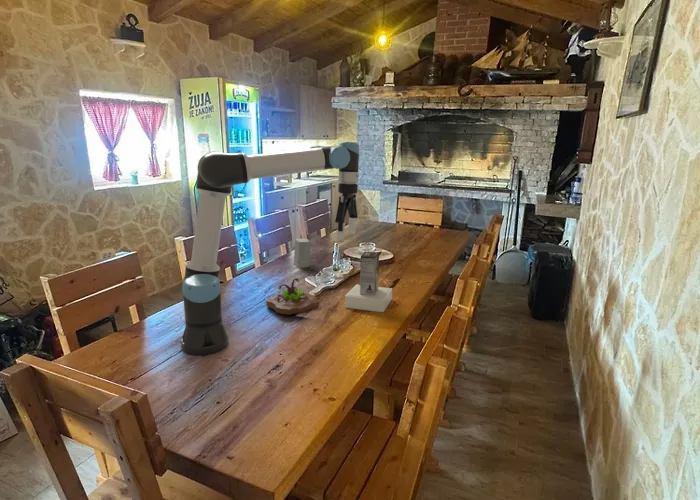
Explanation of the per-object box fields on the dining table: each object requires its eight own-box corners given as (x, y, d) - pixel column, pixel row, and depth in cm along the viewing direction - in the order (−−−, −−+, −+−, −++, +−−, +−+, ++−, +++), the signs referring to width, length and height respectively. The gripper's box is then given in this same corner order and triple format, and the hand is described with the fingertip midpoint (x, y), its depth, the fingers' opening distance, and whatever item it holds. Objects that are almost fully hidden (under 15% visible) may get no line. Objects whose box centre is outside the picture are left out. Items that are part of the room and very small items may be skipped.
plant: (326, 307, 172) (326, 281, 169) (283, 317, 161) (282, 289, 158) (302, 293, 188) (301, 269, 185) (261, 302, 176) (260, 276, 174)
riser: (383, 312, 167) (383, 299, 165) (344, 307, 171) (345, 295, 170) (391, 299, 181) (392, 287, 180) (356, 295, 186) (356, 283, 185)
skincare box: (293, 267, 230) (293, 238, 226) (305, 265, 233) (305, 237, 229) (298, 271, 222) (298, 241, 219) (311, 269, 225) (311, 240, 222)
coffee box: (363, 287, 180) (364, 251, 176) (378, 288, 179) (379, 252, 175) (359, 294, 171) (360, 256, 168) (375, 295, 170) (376, 257, 166)
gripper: (347, 185, 151) (345, 243, 156) (366, 181, 174) (364, 232, 179) (327, 184, 153) (326, 241, 158) (348, 180, 177) (347, 230, 181)
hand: (346, 236), depth 169 cm, fingers open, 13 cm apart
